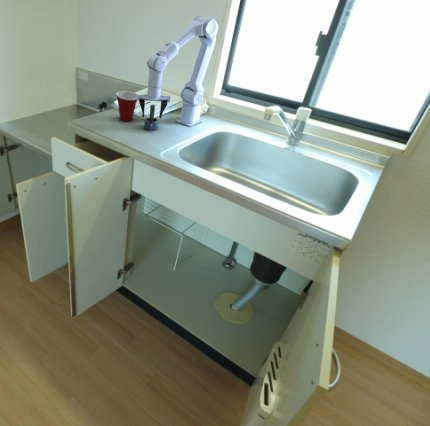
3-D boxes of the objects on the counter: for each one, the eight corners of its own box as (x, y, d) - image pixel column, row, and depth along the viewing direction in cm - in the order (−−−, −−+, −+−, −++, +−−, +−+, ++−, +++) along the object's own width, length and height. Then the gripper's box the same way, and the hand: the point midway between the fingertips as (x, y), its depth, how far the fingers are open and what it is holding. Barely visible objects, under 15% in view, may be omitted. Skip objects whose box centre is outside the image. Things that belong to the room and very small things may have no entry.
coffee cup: (144, 125, 153) (145, 116, 151) (157, 126, 153) (158, 117, 151) (143, 131, 146) (143, 123, 144) (157, 133, 146) (157, 124, 144)
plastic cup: (129, 125, 152) (131, 99, 145) (110, 119, 156) (111, 94, 149) (141, 119, 159) (143, 94, 152) (123, 114, 164) (124, 89, 157)
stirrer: (150, 125, 151) (152, 104, 145) (153, 127, 150) (156, 105, 144) (147, 126, 150) (149, 105, 144) (150, 128, 149) (153, 106, 143)
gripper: (137, 87, 136) (135, 119, 144) (172, 89, 136) (168, 121, 144) (137, 83, 142) (135, 113, 150) (170, 84, 142) (167, 115, 150)
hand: (151, 117), depth 147 cm, fingers open, 7 cm apart
